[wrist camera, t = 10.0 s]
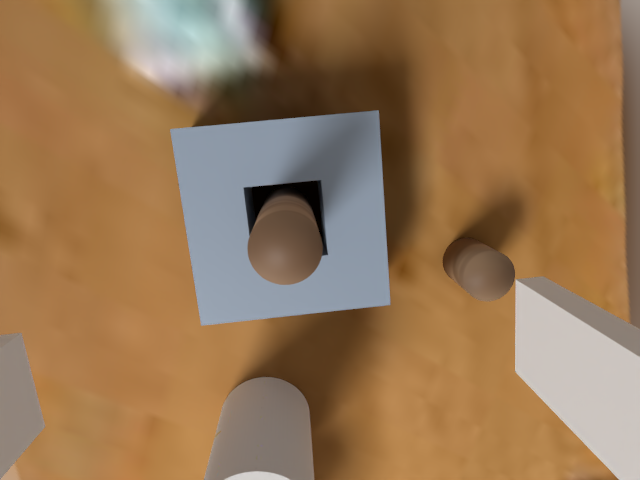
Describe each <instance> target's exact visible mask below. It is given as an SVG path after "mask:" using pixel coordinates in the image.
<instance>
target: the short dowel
mask: <svg viewBox="0 0 640 480" xmlns="http://www.w3.org/2000/svg"><path fill="white" fill-rule="evenodd" d="M443 267H444V270H445V272H446V273H447V275H448V276H449V277H450V278H452V279H453V280H454V281H455V282H456V283H457V284H458V285H460V286H461V287H462V288H463V289H464V290H465V291H467V292H468V293H469V294H470V295H471V296H472V297H474V298H476V299H478V300H480V301H494V300H497V299H499V298H501V297H502V296H504V295H505V294H506V293H507V292H508V291H509V290H510V288H511V287H512V285H513V282H514V278H515V270H514V266H513V264H512V262H511V260H510V259H509V258H508V257H507V256H505V255H504V254H502V253H500V252H498V251H496V250H495V249H493V248H491V247H489V246H487V245H485V244H483V243H482V242H480V241H478V240H476V239H473V238H461V239H458V240H456V241H454V242H453V243H452V244H450V245H449V247H448V248H447V249H446V251H445V253H444V256H443Z"/></svg>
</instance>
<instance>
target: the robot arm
mask: <svg viewBox="0 0 640 480" xmlns="http://www.w3.org/2000/svg"><path fill="white" fill-rule="evenodd" d="M515 372H516V373H517V374H518V375H519V376H520V377H521V378H522V379H523V380H524V381H525V382H526V383H527V384H528V385H529V386H530V387H531V389H532V390H533V391H534V392H535V393H536V394H537V395H538V396H539V397H540V398H541V399H542V400H543V401H544V402H545V403H546V404H547V405H548V406H549V407H550V408H551V409H552V410H553V411H554V412H555V413H556V414H557V416H558V417H559V418H560V419H561V420H562V421H563V422H564V423H565V424H566V425H567V426H568V427H569V428H570V429H571V430H572V431H573V432H574V433H575V434H576V435H577V436H578V437H579V438H580V439H581V440H582V441H583V443H584V444H585V445H586V446H587V447H588V448H589V449H590V450H591V451H592V452H593V453H594V454H595V455H596V456H597V457H598V458H599V459H600V460H601V461H602V462H603V463H604V464H605V465H606V466H607V467H608V468H609V470H610V471H611V472H612V473H613V474H614V475H615V476H616V477H617V478H618V479H619V480H640V329H638V328H636V327H635V326H633V325H631V324H629V323H627V322H626V321H624V320H622V319H620V318H618V317H616V316H615V315H613V314H611V313H609V312H607V311H605V310H604V309H602V308H600V307H598V306H596V305H594V304H593V303H591V302H589V301H587V300H585V299H583V298H582V297H580V296H578V295H576V294H574V293H573V292H571V291H569V290H567V289H565V288H563V287H562V286H560V285H558V284H556V283H554V282H552V281H551V280H549V279H547V278H545V277H534V278H525V279H516V331H515ZM44 427H45V424H44V420H43V416H42V412H41V408H40V404H39V400H38V396H37V392H36V388H35V384H34V381H33V377H32V373H31V369H30V365H29V361H28V357H27V353H26V349H25V345H24V341H23V337H22V333H16V334H7V335H0V479H1V478H2V477H3V476H4V474H5V473H6V472H7V471H8V470H9V468H10V467H11V466H12V465H13V464H14V463H15V461H16V460H17V459H18V458H19V457H20V456H21V454H22V453H23V452H24V451H25V450H26V449H27V447H28V446H29V445H30V444H31V443H32V441H33V440H34V439H35V438H36V437H37V436H38V434H39V433H40V432H41V431H42V430H43V429H44Z"/></svg>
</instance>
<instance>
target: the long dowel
mask: <svg viewBox="0 0 640 480" xmlns="http://www.w3.org/2000/svg"><path fill="white" fill-rule="evenodd" d="M247 249H248V257H249V260H250V263H251V265H252V267H253V268H254V270H255V271H256V272H257V273H258V274H259V275H260V276H261V277H262V278H264V279H265V280H267V281H269V282H272V283H275V284H279V285H291V284H295V283H299V282H301V281H303V280H305V279H306V278H308V277H309V276H310V275H311V274H312V273H313V272H314V271H315V270H316V269H317V267H318V265H319V263H320V261H321V257H322V251H323V245H322V240H321V236H320V233H319V230H318V227H317V224H316V220H315V217H314V214H313V211H312V208H311V204H310V201H309V199H308V197H307V196H306V195H305V193H304V192H302V191H301V190H300V189H298V188H296V187H292V186H281V187H278V188H276V189H274V190H273V191H271V192H270V193H269V194H268V196H267V197H266V199H265V201H264V203H263V206H262V208H261V210H260V213H259V215H258V217H257V220H256V222H255V225H254V227H253V229H252V232H251V234H250V237H249V240H248V247H247Z"/></svg>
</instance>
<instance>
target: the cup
mask: <svg viewBox="0 0 640 480" xmlns="http://www.w3.org/2000/svg"><path fill="white" fill-rule="evenodd" d="M204 480H314V466H313V452H312V438H311V423H310V411H309V406H308V403H307V401H306V399H305V397H304V396H303V394H302V393H301V392H300V391H299V390H298V389H297V388H296V387H295V386H294V385H292V384H290V383H289V382H287V381H284V380H282V379H278V378H273V377H259V378H254V379H251V380H248V381H246V382H244V383H242V384H240V385H239V386H237V387H236V388H235V389H234V390H233V391H232V392H231V393H230V394H229V395H228V397H227V398H226V400H225V402H224V404H223V407H222V411H221V415H220V419H219V423H218V427H217V431H216V434H215V438H214V442H213V446H212V450H211V454H210V458H209V462H208V466H207V470H206V474H205V478H204Z"/></svg>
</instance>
